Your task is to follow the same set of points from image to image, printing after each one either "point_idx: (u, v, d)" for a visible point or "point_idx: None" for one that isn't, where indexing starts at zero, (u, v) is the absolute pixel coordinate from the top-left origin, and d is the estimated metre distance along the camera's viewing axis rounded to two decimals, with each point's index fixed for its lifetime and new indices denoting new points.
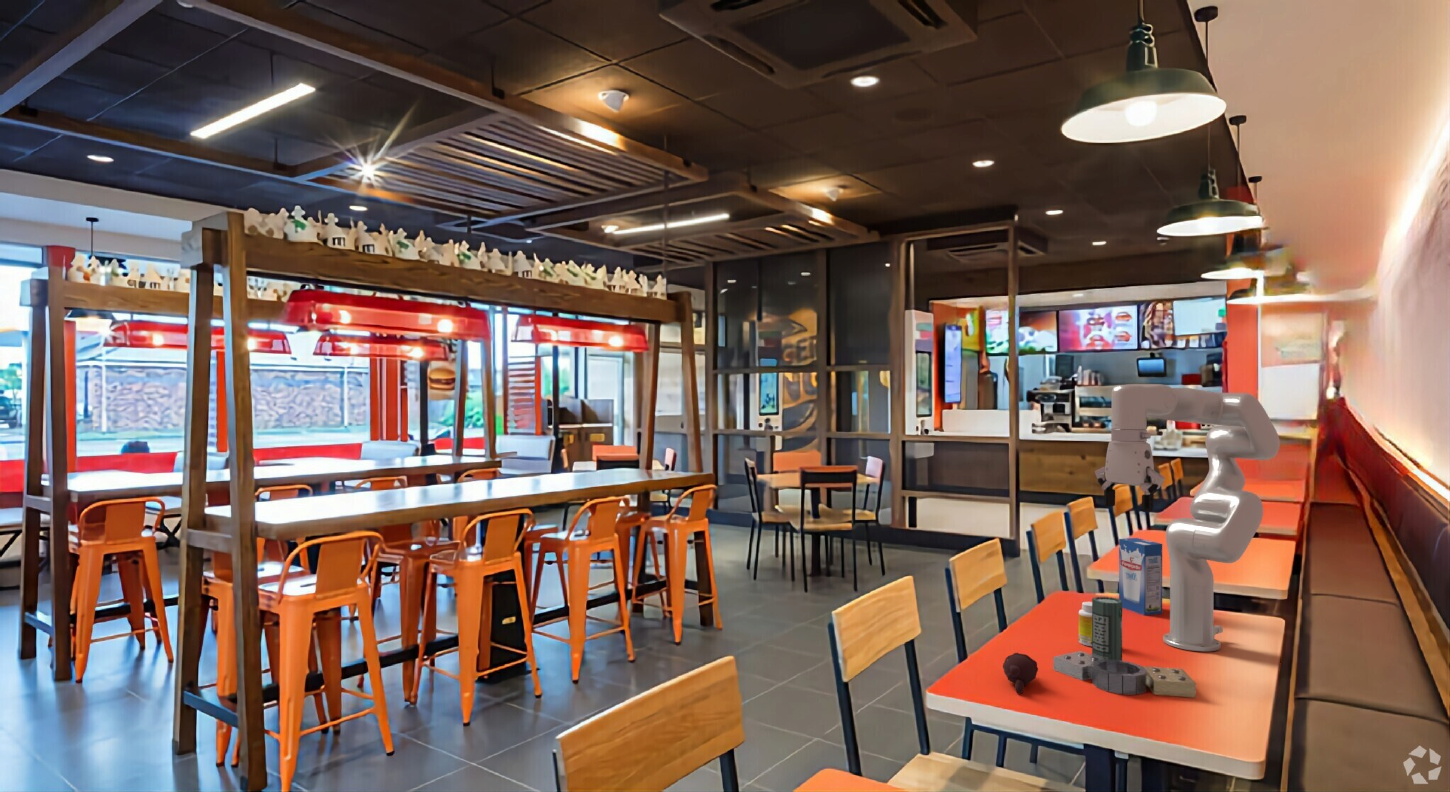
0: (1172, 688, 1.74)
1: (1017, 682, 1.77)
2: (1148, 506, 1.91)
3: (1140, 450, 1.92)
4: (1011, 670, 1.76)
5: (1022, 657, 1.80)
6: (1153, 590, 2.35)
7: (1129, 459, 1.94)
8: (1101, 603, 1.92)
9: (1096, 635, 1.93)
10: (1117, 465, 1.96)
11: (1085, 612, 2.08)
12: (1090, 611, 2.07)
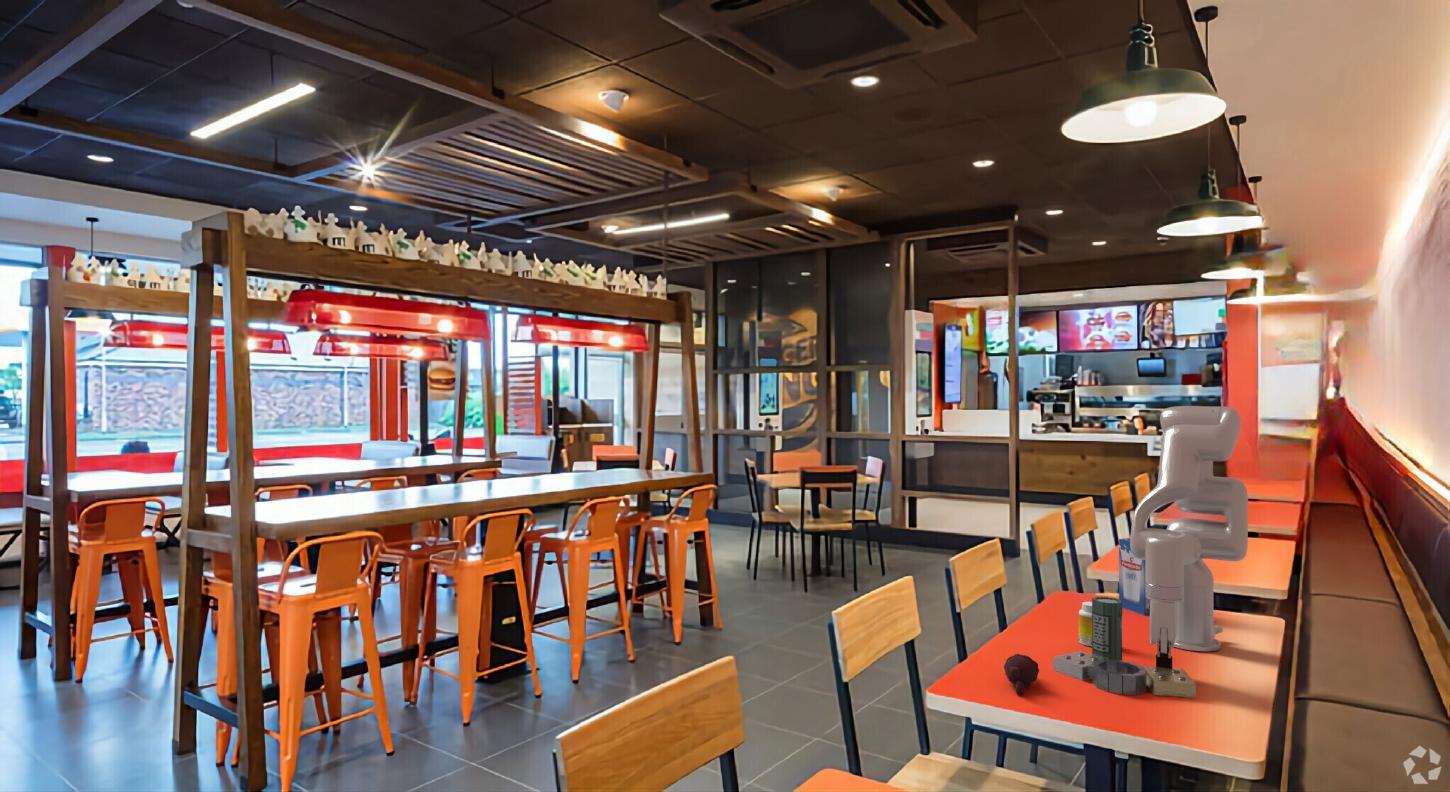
0: (1172, 688, 1.73)
1: (1017, 683, 1.76)
2: None
3: None
4: (1011, 671, 1.75)
5: (1023, 658, 1.80)
6: None
7: None
8: (1101, 603, 1.92)
9: (1096, 635, 1.93)
10: (1176, 625, 1.81)
11: (1085, 612, 2.08)
12: (1090, 611, 2.07)
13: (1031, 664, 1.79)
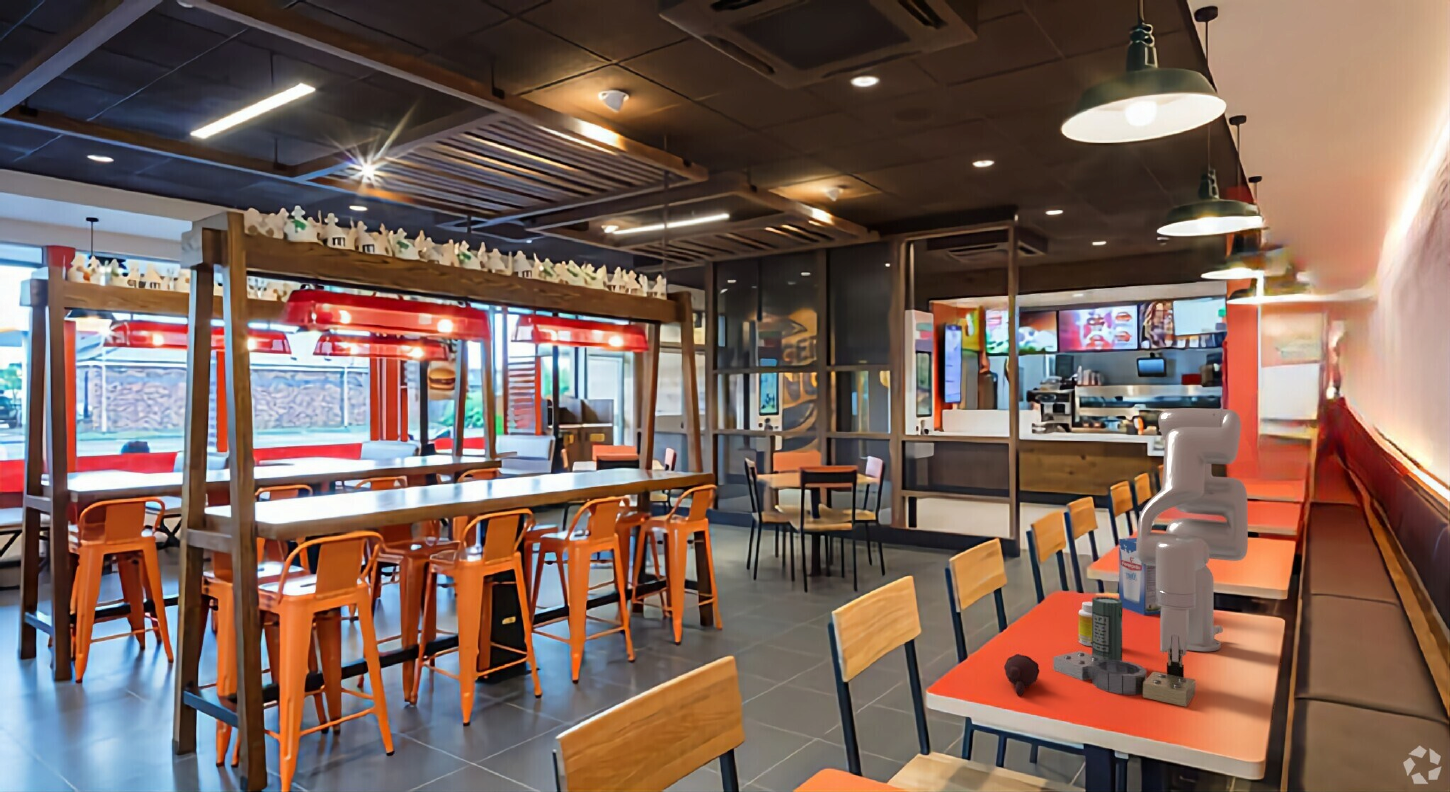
0: (1162, 693, 1.71)
1: (1017, 684, 1.76)
2: None
3: None
4: (1011, 671, 1.75)
5: (1023, 658, 1.79)
6: (1153, 590, 2.35)
7: None
8: (1101, 603, 1.92)
9: (1096, 635, 1.93)
10: None
11: (1085, 612, 2.08)
12: (1090, 611, 2.07)
13: (1031, 664, 1.79)
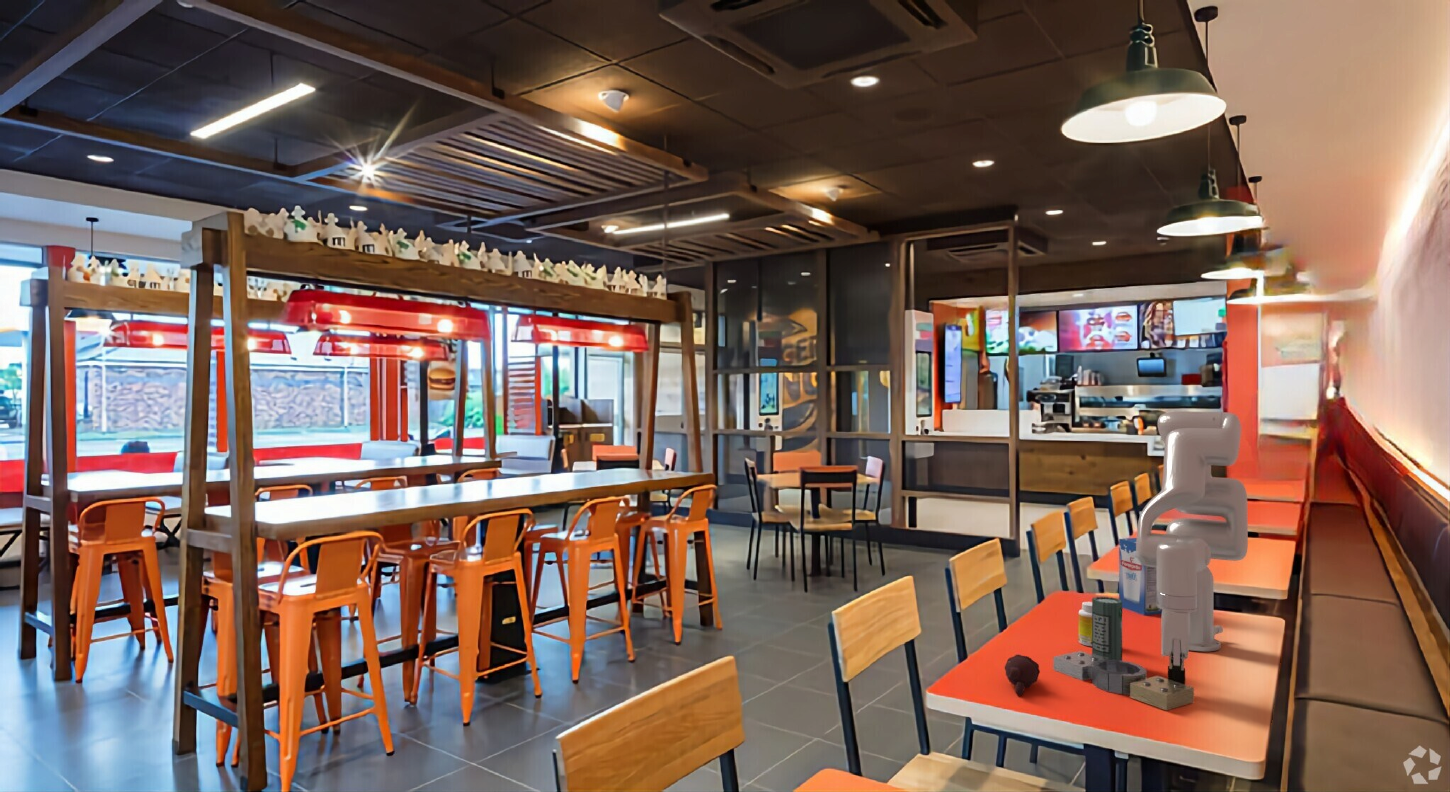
0: (1146, 695, 1.70)
1: (1017, 684, 1.76)
2: None
3: None
4: (1011, 671, 1.75)
5: (1023, 659, 1.79)
6: (1153, 590, 2.35)
7: None
8: (1101, 603, 1.92)
9: (1096, 635, 1.93)
10: None
11: (1085, 612, 2.08)
12: (1090, 611, 2.07)
13: (1032, 665, 1.78)
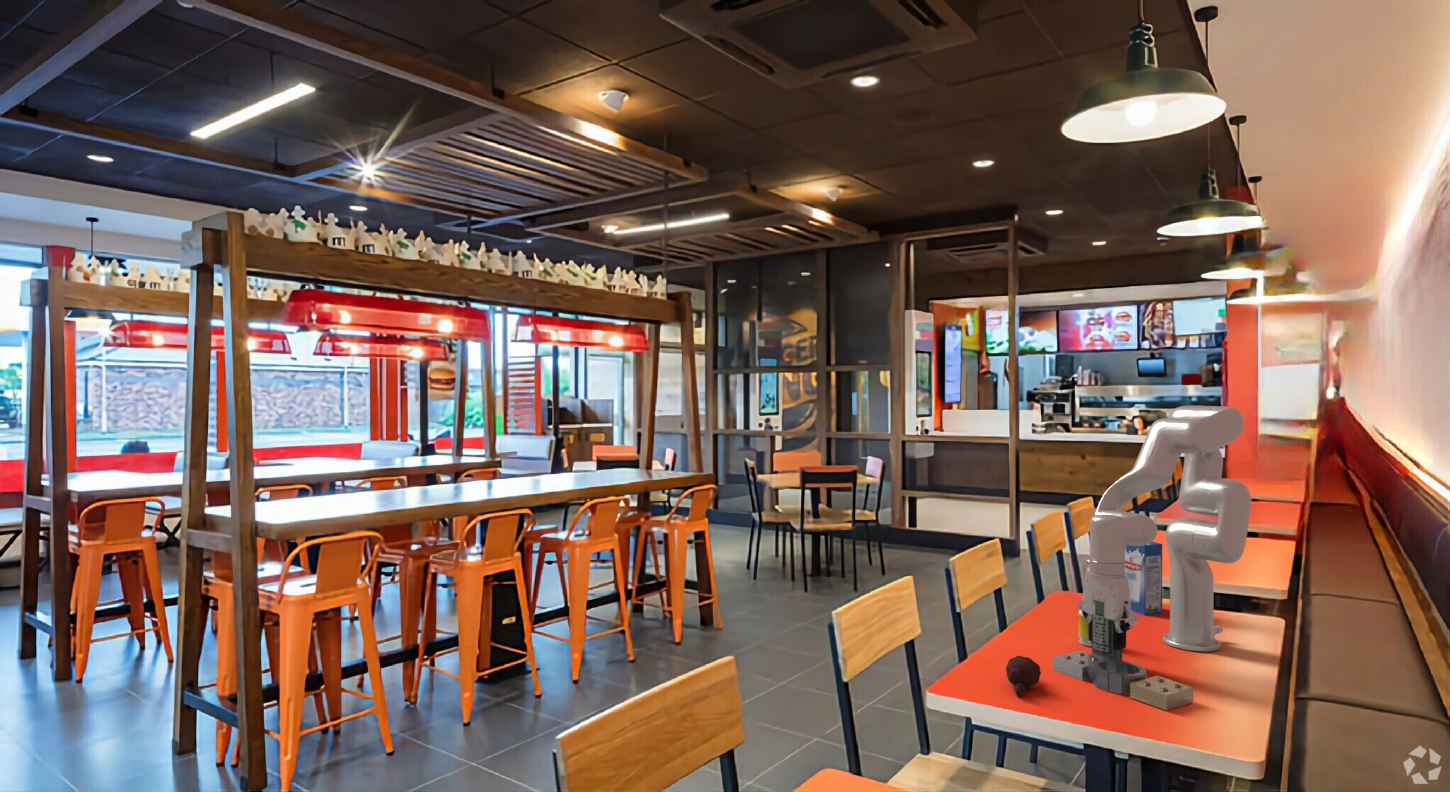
0: (1146, 695, 1.70)
1: (1017, 685, 1.75)
2: None
3: None
4: (1010, 672, 1.74)
5: (1024, 660, 1.78)
6: (1153, 590, 2.35)
7: None
8: (1101, 603, 1.92)
9: (1096, 635, 1.93)
10: None
11: None
12: None
13: (1032, 666, 1.77)
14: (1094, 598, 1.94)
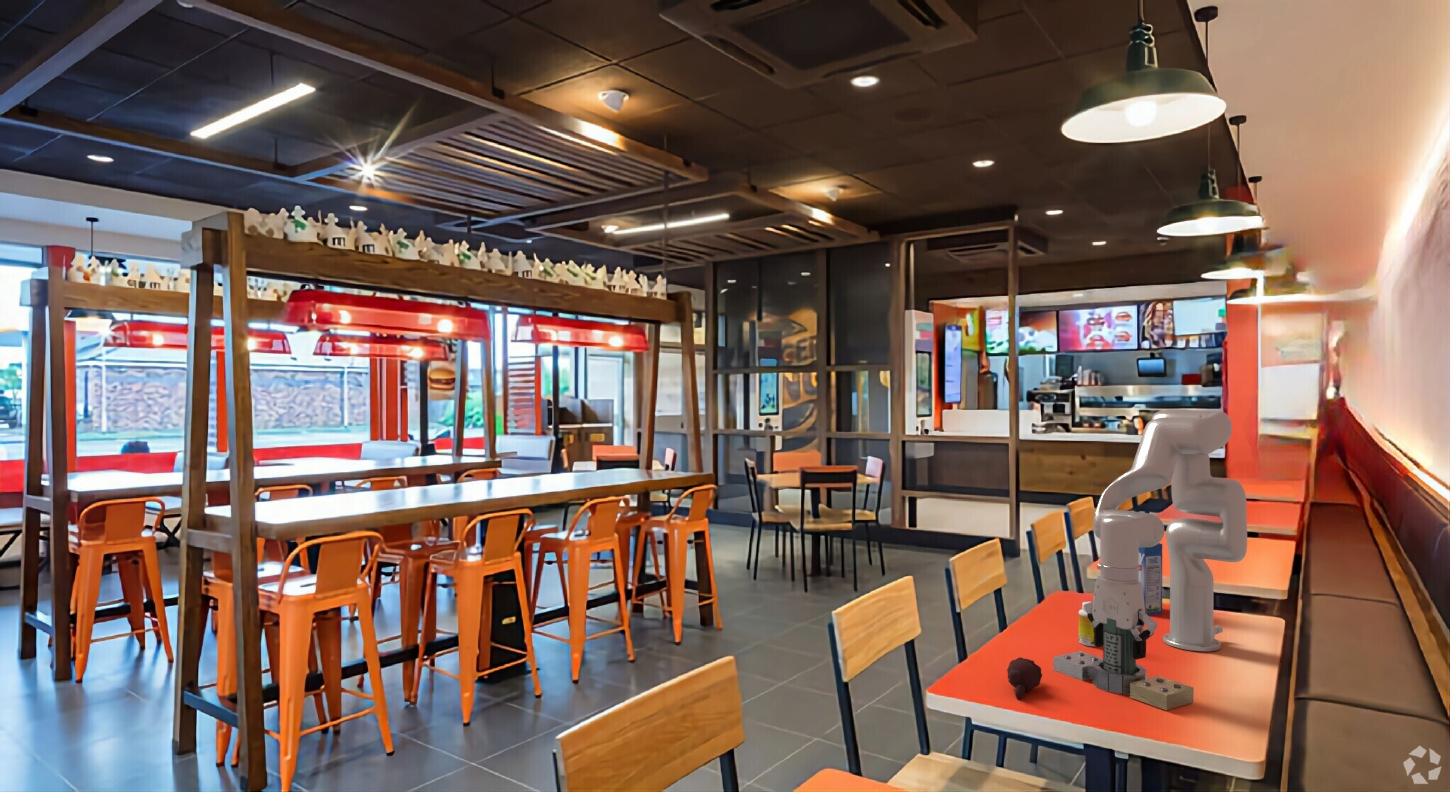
0: (1146, 695, 1.70)
1: (1017, 687, 1.74)
2: None
3: None
4: (1010, 674, 1.73)
5: (1025, 662, 1.77)
6: (1153, 590, 2.35)
7: None
8: (1113, 621, 1.78)
9: (1108, 655, 1.79)
10: None
11: (1085, 612, 2.08)
12: None
13: (1033, 668, 1.76)
14: (1105, 606, 1.80)
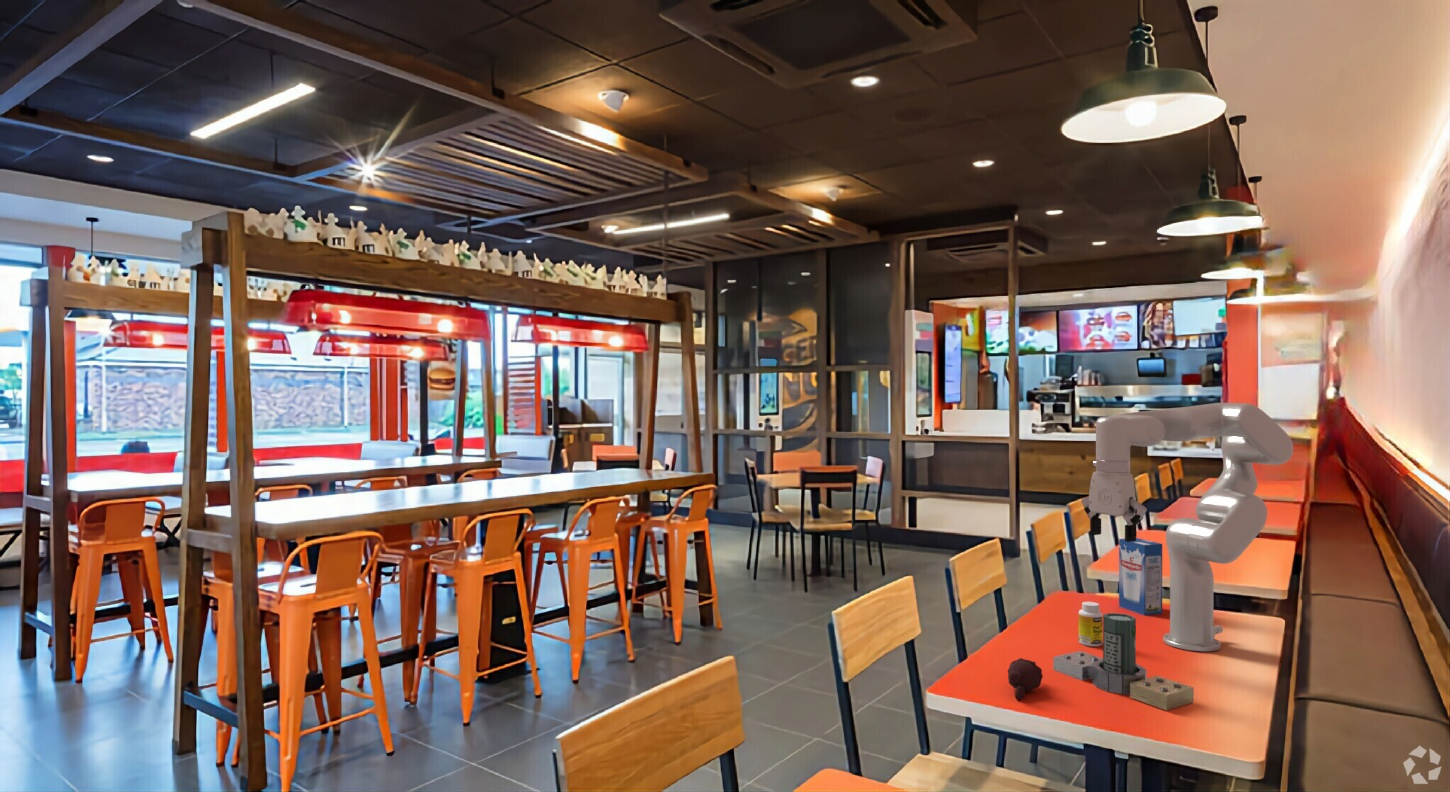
0: (1146, 695, 1.70)
1: (1017, 688, 1.73)
2: None
3: None
4: (1010, 675, 1.73)
5: (1025, 663, 1.76)
6: (1153, 590, 2.35)
7: None
8: (1113, 620, 1.78)
9: (1107, 655, 1.79)
10: None
11: (1085, 612, 2.08)
12: (1090, 611, 2.07)
13: (1034, 669, 1.76)
14: (1100, 496, 2.01)
